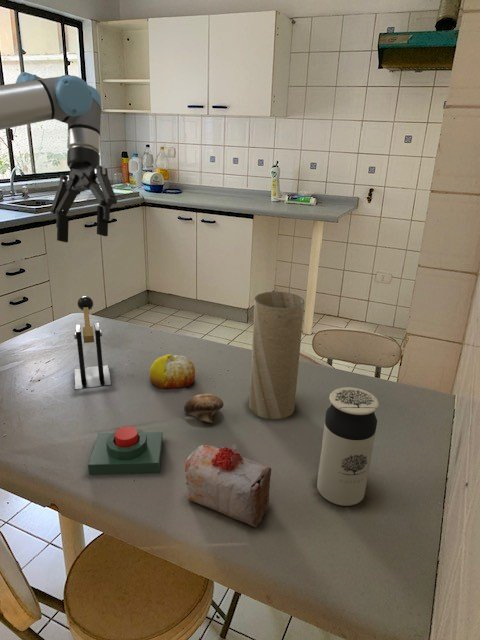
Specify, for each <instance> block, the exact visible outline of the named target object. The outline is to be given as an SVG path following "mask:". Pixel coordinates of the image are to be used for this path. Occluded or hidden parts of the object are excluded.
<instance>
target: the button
mask: <svg viewBox="0 0 480 640" xmlns="http://www.w3.org/2000/svg"><path fill="white" fill-rule="evenodd" d="M136 428H137V427H135V426H131V425H128V426H127V425H126V426H125V425H124V426H121V427H118V429H116V430H117V431H116V430H115V431H116V432H115V443H116V445H117V446H119V447H130V446H133V445H135V444H136V443H137V442H138V431H137V429H138V428H137V429H136Z"/></svg>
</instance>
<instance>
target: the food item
mask: <svg viewBox="0 0 480 640" xmlns="http://www.w3.org/2000/svg"><path fill="white" fill-rule="evenodd" d="M236 447H237V444H233V445H232V446H229V448H228V446H213V445H209V444H202V445H200V446H198V447H197V448H196V449H195V450H193V451H192V452H191V453H190V455H189V456H188V457H186V459H185V460H184V472H185V479H186V482H185V485H186V489H187V500H188V501H189V502H193V503H195V504H198V505H201V506H203V507H206V508H209V509H210V510H213V511H215V512H218V513H221V514H223V515H225V516H227V517H229V518H231V519H234V520H236V521H239V522H242V523H245V524H247V525H249V526H251V527H254V528H256V529H257V527H258V525H259V524H260V523H261V522H262V519H263V517H264V515H265V514H266V512H267V510H268V507H269V504H270V503H269V502H270V489H271V477H272V467H271V466H267V465H264V464H261V463H259V462H256V461H254V460H251V459H249V458H247V457H244V456H242V455H241V453H238V451H237V448H236Z"/></svg>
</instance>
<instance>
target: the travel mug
mask: <svg viewBox="0 0 480 640" xmlns="http://www.w3.org/2000/svg"><path fill="white" fill-rule="evenodd" d="M329 402H330V406H329V407H328V408H327V410H325V411H326V412H325V419H324V425H323V433H322V443H321V451H320V458H319V465H318V474H317V481H316V482H317V483H316V486H317V491H318V492H319V494H320V495H321V496H322V497H323V498H324V499H325V500H327V501H328V502H330V503H332V504H335V505H338V506H345V507H346V506H349V507H350V506H354V505H357V504H359V503H361V501H363V499H364V498H365V494H366V488H367V483H368V477H369V471H370V466H371V459H372V454H373V450H374V449H373V447H374V443H375V437H376V432H377V425H378V418H377V416H376V413H375V412H376V411H377V410H378V409H379V407H380V406H379V400H378V399H377V398H376V396H374V395H373V394H372V393H371V392H369V391H367V390H364V389H361V388H357V387H350V386H349V387H348V386H345V387H338V388H336V389H334V390H332V391H331V393H330V394H329Z"/></svg>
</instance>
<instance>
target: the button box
mask: <svg viewBox="0 0 480 640" xmlns="http://www.w3.org/2000/svg"><path fill="white" fill-rule="evenodd" d="M135 428H136V429H137V431H138V442H137V443H136V444H135V445H133V446H130V447H119V446H117V445H116V443H115V432H116V431H117V430H118V429H116V430H114V431H113V432H98V433H97V436H96V439H95V442H94V445H93V449H92V452H91V455H90V458H89V461H88V464H87V467H88V468H87V469H88V475H89V476H93V475H95V476H96V475H125V474H159V473H160V468H161V461H162V452H163V451H162V450H163V441H164V438H163V437H164V436H163V435H164V434H163V431H143V430H142V429H140V428H137V427H135Z"/></svg>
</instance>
